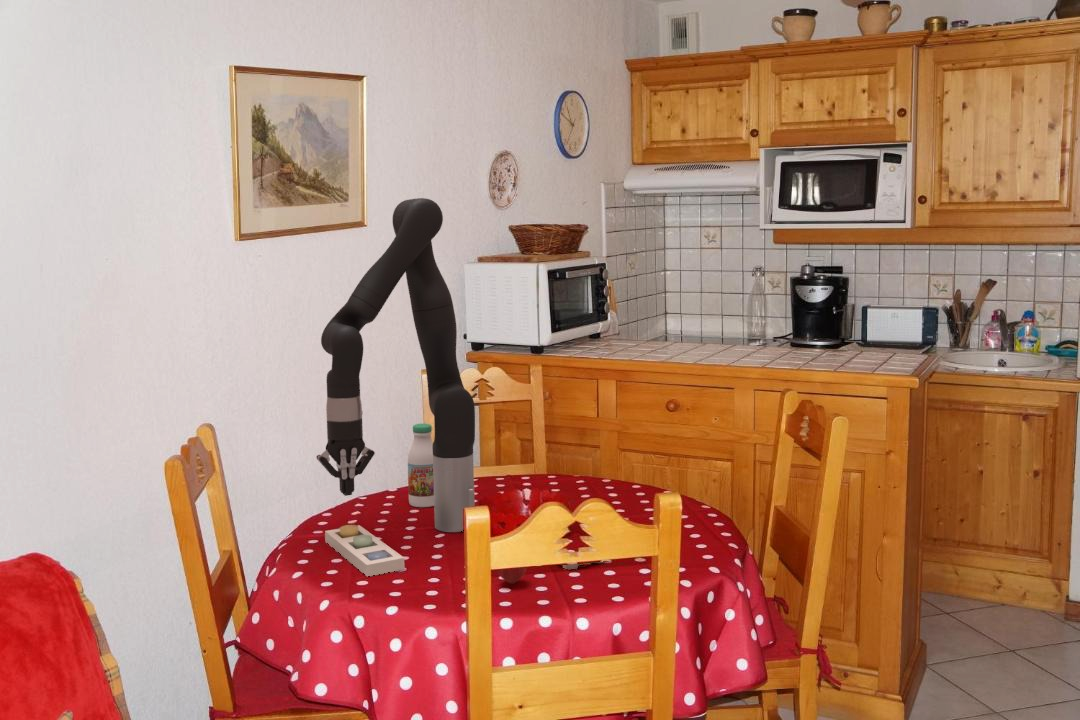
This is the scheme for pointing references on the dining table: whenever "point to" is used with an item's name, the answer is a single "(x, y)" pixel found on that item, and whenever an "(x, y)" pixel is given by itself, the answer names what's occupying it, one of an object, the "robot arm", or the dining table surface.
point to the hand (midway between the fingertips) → (347, 494)
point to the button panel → (365, 553)
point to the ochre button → (348, 531)
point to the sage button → (362, 541)
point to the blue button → (377, 555)
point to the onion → (512, 574)
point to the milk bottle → (421, 467)
